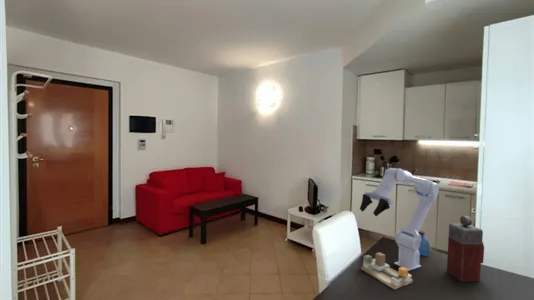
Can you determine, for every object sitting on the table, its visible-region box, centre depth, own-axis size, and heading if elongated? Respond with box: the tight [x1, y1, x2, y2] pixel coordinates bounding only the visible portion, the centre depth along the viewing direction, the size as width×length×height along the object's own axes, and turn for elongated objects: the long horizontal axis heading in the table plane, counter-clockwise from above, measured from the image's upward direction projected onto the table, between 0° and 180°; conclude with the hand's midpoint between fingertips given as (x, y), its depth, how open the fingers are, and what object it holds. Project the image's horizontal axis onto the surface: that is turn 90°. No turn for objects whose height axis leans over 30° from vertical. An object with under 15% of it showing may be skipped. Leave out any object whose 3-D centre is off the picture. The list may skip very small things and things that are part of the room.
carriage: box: [370, 251, 391, 271], centre depth 124 cm, size 7×5×6 cm
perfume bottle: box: [418, 230, 430, 257], centre depth 145 cm, size 6×6×12 cm
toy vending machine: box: [446, 215, 485, 282], centre depth 121 cm, size 9×11×28 cm
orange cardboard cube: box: [397, 267, 409, 277], centre depth 115 cm, size 3×2×3 cm
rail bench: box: [361, 254, 414, 290], centre depth 121 cm, size 12×18×6 cm, turn 27°
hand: (367, 212), depth 117 cm, fingers open, 7 cm apart
